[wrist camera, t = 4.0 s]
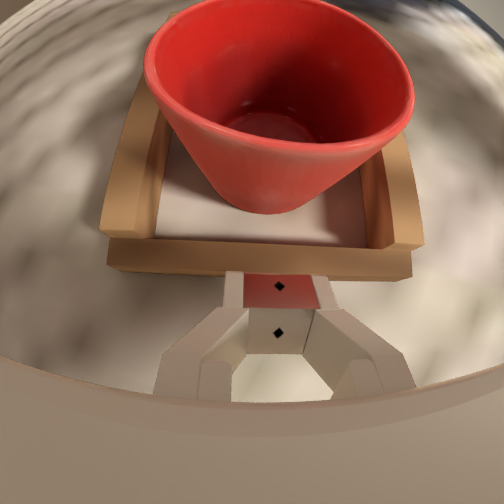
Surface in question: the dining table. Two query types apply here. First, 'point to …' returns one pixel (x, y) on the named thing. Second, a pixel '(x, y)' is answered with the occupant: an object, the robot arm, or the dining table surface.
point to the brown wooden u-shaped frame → (251, 254)
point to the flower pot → (277, 96)
